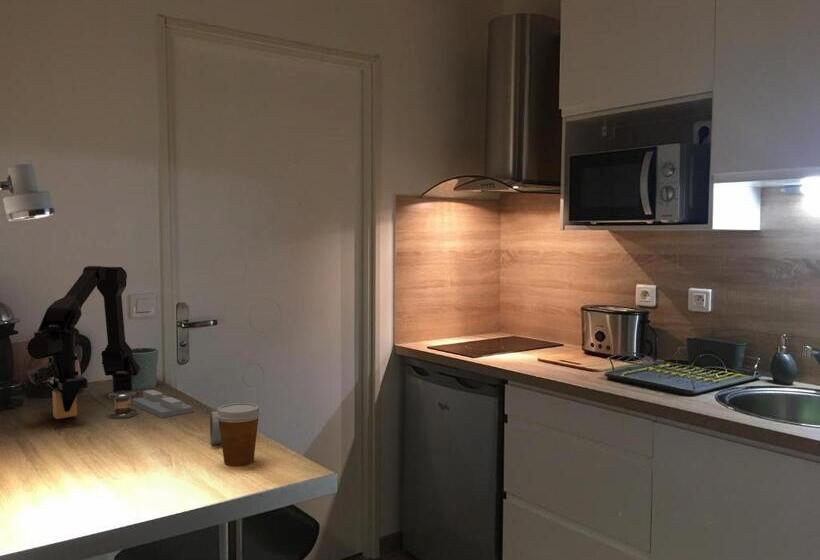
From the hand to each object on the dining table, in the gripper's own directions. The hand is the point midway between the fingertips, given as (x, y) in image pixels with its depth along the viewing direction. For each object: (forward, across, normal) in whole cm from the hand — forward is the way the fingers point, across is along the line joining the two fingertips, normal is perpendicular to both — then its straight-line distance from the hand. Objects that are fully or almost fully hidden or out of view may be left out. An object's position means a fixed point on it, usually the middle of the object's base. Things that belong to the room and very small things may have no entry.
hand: (64, 410), depth 187 cm
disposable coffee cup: (+2, +62, +17) cm, 64 cm away
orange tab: (+2, 0, 0) cm, 2 cm away
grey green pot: (+3, -25, +31) cm, 40 cm away
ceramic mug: (+3, +46, +22) cm, 51 cm away
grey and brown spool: (+2, +6, +13) cm, 15 cm away
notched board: (+2, +6, +24) cm, 25 cm away
